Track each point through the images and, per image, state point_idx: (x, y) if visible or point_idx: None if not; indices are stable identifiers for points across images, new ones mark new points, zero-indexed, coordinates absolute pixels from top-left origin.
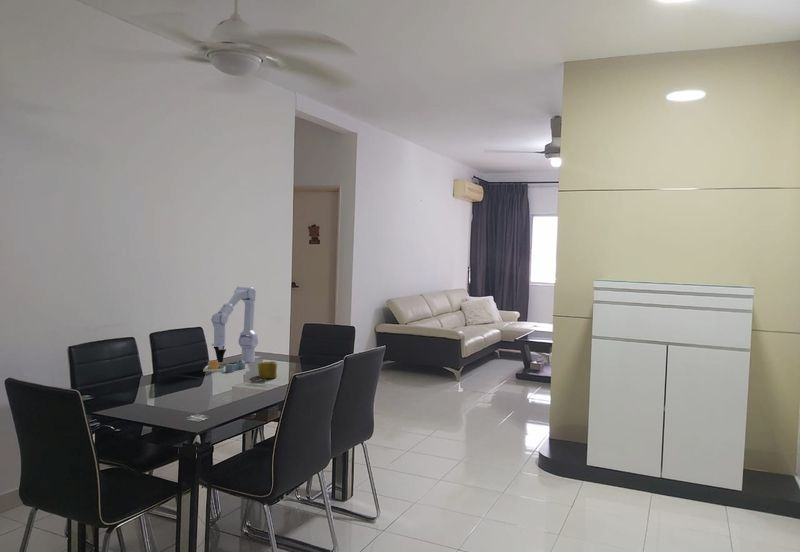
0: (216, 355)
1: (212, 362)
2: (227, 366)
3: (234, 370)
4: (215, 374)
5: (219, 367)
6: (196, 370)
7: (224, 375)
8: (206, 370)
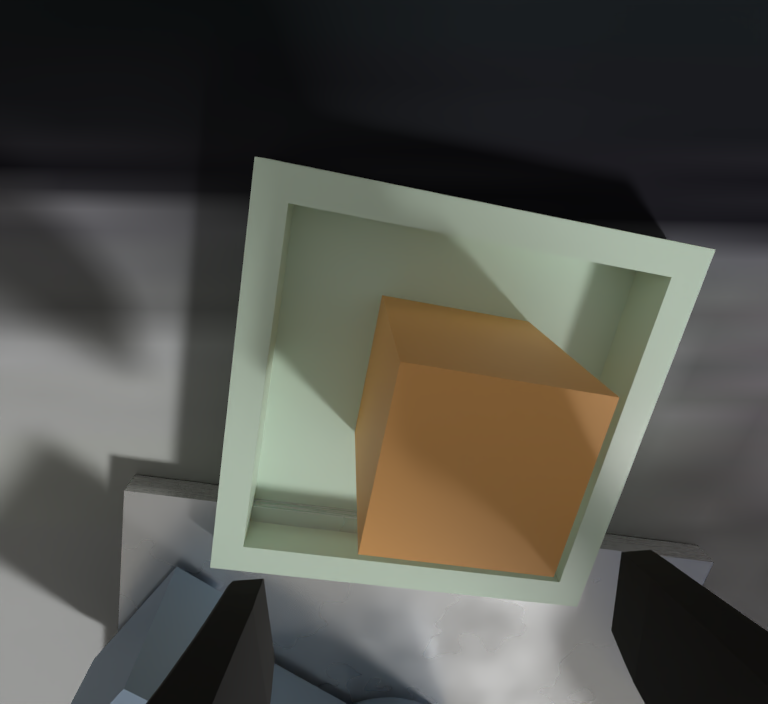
0: (706, 633)
1: (383, 428)
2: (112, 681)
3: None
4: (122, 391)
5: None
6: (628, 9)
7: (17, 529)
8: (248, 235)
